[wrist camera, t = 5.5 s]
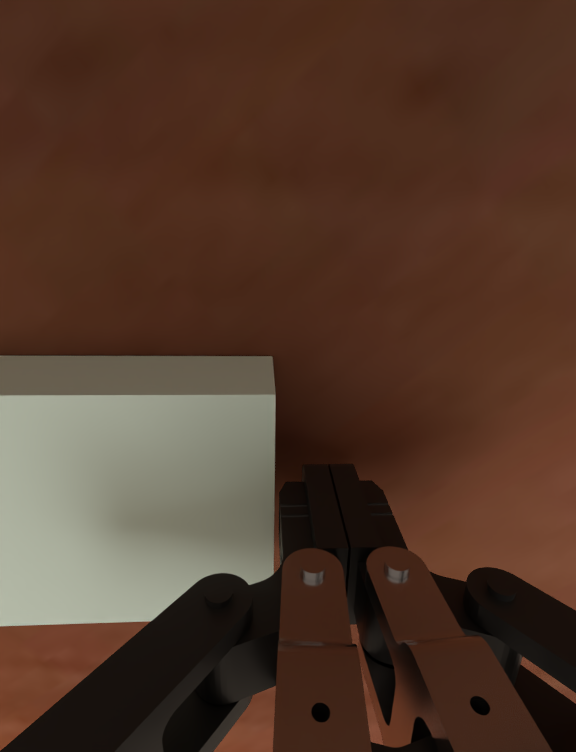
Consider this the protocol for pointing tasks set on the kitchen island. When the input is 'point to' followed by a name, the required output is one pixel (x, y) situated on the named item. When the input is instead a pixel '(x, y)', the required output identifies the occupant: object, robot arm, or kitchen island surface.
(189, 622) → the robot arm
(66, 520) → the sage green bar
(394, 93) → the kitchen island surface
